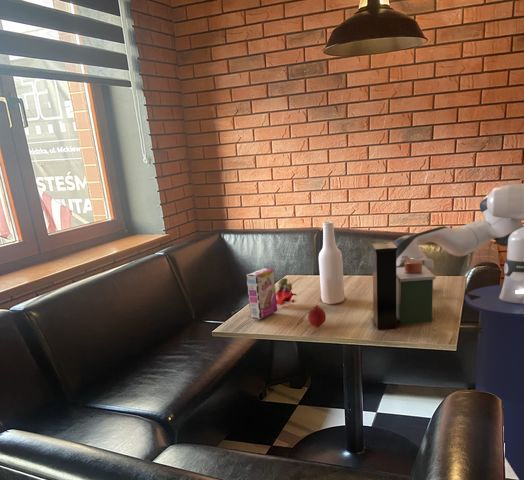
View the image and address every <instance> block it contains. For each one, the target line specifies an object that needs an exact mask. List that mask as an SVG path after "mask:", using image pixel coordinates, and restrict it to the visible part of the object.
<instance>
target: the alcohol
mask: <svg viewBox="0 0 524 480" xmlns="http://www.w3.org/2000/svg"><path fill="white" fill-rule="evenodd" d="M334 227H335V226H334V222H333V221H325V222H324V221H323V222H322V229H323V231H322V233H323V234H322V236H323V237H322V248H321V250H320V251H319V254H318V269H319V282H320V297H321V301H322V302H323V303H324V304H328V305H333V304H334V305H335V304H340V303H342V302H344V300H345V282H344V281H345V280H344V267H343V266H344V265H343V263H344V262H343V254H342V251H341V250H340V249H339V248H338V246H337V243H336V237H335V228H334Z"/></svg>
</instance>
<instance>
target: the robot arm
mask: <svg viewBox="0 0 524 480" xmlns="http://www.w3.org/2000/svg"><path fill="white" fill-rule="evenodd" d="M479 209H480V212H481V213H482V215H483V217H484V220H482V219H479V220H475V221H471V222H469V223H466V224H464V225H462V226H460V227H456V228H454V227H448V226H443V225H442V226H438V227H434V228H430V229H426V230H423V231H421V232H417V233H413V234H408V235H407V234H406V235H403V236H400V237H398V238H397V239H395V240H394V241H393V242H392V243H393V244H394V245H395V246H396V247H397V251H396V268H398V267H405V265H404V264H405V261H404V259H402V256H408V257H409V258H410V259H411V260H419V261H422V266H425V267H426V268H427V269H428V270H429V271H430V272H431V273H432V271H433V270H434V268H435V263H434V260H433V259H432V258H428V257H427V256H426V254H425V253H424V252H423V250H422V248H421V247H420V246H422V245H425V244H428V243H433V244H435V245H437V246H439V247H441V248H442V249H443V250H444V251H445V252H447V253H448V254H450V255H452V256H454V257H465V256H467V255H470V254H472V253H473V252H475V251H477V250H479V249H480V248H481V247H483V246H484V245H486V244H487V243H488V242H490V241H492V240H493V241H494V242H493V243H492V244H493V245H496V244H497V245H498V246H499V247H500V246H501V247H506V248H507V251H506V257H505V260H504V265H503V271H504V279H503V282H502V283H503V284H502V285H503V287H502V290H501V293H500V295H499V298H500V299H501V300H503V301H506V302H511V303H520V304H524V223H523V221H524V183H509V184H504V185H500V186H496V187H494V188H492V189H491V191H490V192H489V193H488V194H487V195H486V196H484V197H483V198H482V200H481V201H480V203H479Z"/></svg>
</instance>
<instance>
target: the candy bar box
mask: <svg viewBox="0 0 524 480" xmlns="http://www.w3.org/2000/svg"><path fill="white" fill-rule="evenodd" d="M275 279H276V278H275V269H274V268H265V267H264V268H261V269H259V270H256V271H252V272H250V273H247V274H246V285H247V295H248V303H249V304H248V305H249V314H250V319H254V320H262V319H265V318H267V317H268V316H270V315H272V314H274V313H277V312H278V304H277V301H276V300H277V295H276V292H277V291H276V280H275Z"/></svg>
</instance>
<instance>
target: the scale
mask: <svg viewBox="0 0 524 480" xmlns="http://www.w3.org/2000/svg"><path fill="white" fill-rule="evenodd" d="M404 269H405V267H398V268H396V319H397V321H398V322H399V324H400V325H410V324H424V323H432V322H433V293H434V292H433V291H434V290H433V288H434V286H433V285H434V280H436V275H435V274H434V273H432V271H431V272H430V271H429V270H428V269H427V268H426V267H425V266H422V272H421V273H417V274H409V273H405V272H404Z"/></svg>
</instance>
